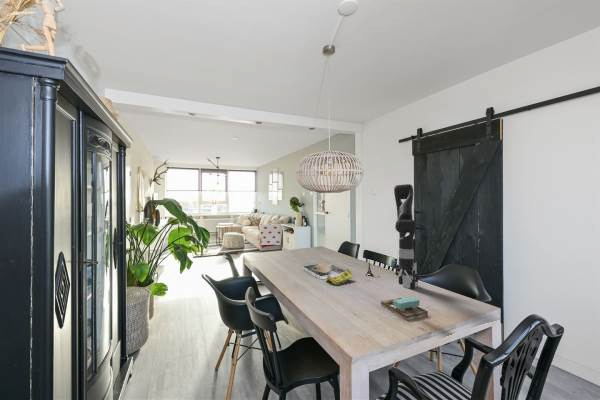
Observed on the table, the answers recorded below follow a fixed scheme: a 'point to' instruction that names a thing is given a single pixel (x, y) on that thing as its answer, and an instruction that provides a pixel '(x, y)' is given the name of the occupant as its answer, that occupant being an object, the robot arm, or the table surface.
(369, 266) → the eiffel tower figurine
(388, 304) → the slot board
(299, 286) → the table surface
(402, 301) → the panel
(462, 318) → the table surface
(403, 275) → the robot arm
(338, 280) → the plastic component
